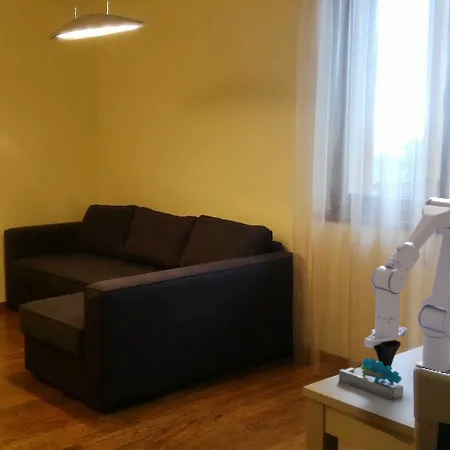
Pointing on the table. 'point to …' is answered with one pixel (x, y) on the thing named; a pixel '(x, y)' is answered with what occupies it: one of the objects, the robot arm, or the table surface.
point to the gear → (379, 371)
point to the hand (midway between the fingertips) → (385, 369)
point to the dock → (370, 385)
